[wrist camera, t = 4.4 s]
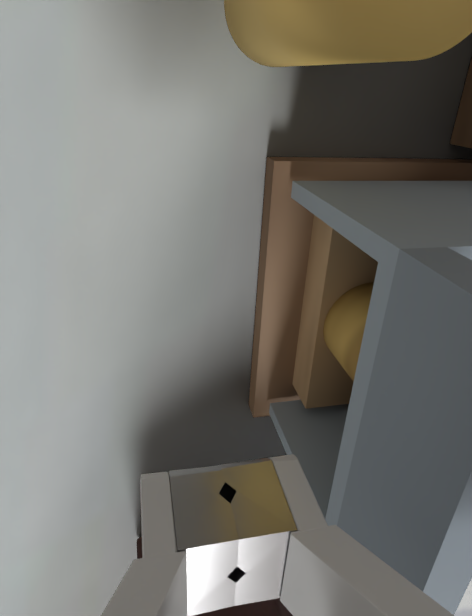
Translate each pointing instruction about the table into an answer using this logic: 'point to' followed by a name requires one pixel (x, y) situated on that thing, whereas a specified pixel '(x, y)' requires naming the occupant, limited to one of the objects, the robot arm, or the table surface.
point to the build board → (464, 116)
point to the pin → (346, 30)
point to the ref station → (317, 282)
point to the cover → (400, 384)
